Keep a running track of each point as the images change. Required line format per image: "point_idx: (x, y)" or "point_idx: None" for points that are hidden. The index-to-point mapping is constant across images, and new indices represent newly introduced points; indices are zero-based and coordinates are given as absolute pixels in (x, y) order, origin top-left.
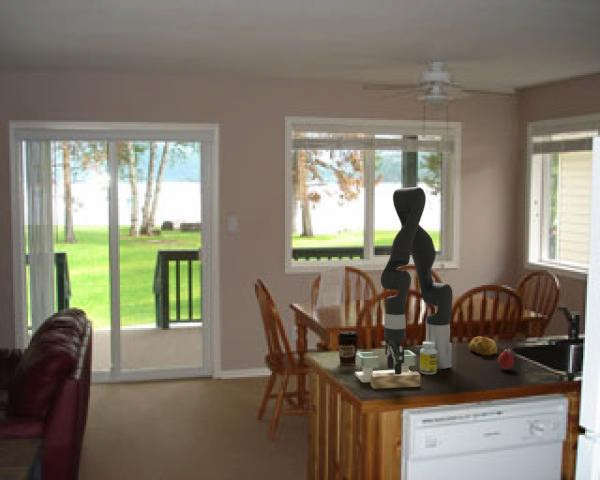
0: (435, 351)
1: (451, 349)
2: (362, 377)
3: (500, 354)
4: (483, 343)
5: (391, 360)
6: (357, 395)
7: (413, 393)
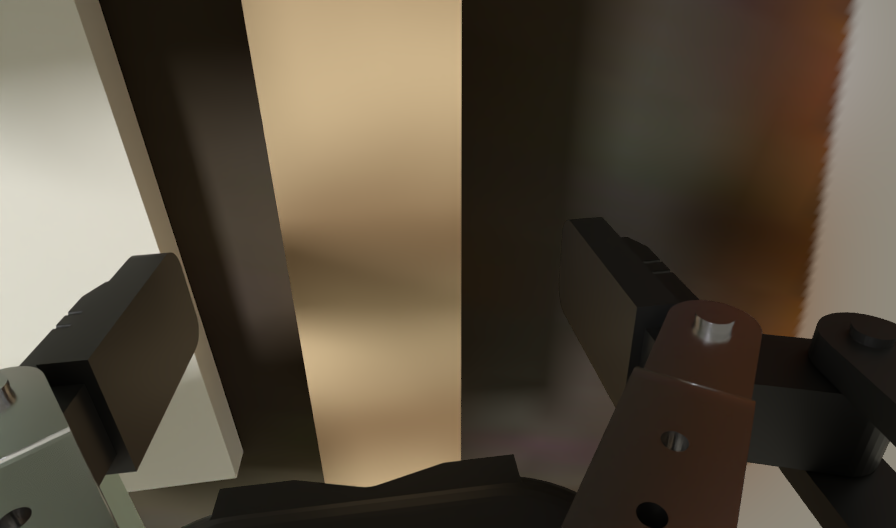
0: None
1: None
2: (167, 472)
3: None
4: None
5: (131, 373)
6: None
7: (713, 31)
